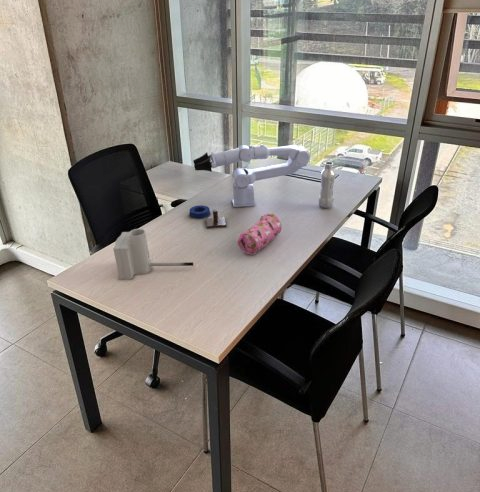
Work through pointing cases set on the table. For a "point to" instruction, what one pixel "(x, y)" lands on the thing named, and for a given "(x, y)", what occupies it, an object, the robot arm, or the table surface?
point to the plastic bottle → (327, 186)
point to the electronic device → (135, 255)
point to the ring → (199, 212)
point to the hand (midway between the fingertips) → (194, 165)
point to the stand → (215, 221)
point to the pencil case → (260, 234)
